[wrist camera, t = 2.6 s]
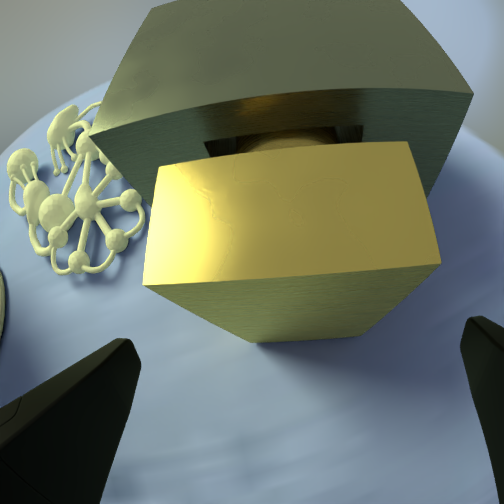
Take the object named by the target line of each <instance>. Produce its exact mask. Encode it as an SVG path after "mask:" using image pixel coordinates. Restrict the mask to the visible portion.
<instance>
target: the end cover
mask: <svg viewBox="0 0 504 504" xmlns="http://www.w3.org/2000/svg"><path fill="white" fill-rule="evenodd" d="M440 264H441V258H440V253H439V248H438V244H437V239H436V235H435V231H434V227H433V223H432V219H431V215H430V211H429V208H428V204H427V200H426V197H425V194H424V190H423V187H422V184H421V180H420V177H419V174H418V171H417V168H416V165H415V162H414V159H413V156H412V153H411V150H410V148H409V145H408V142H407V141H403V142H366V143H345V144H339V141H338V136H337V132H336V128H335V126H330V127H316V128H304V129H293V130H283V131H274V132H265V133H257V134H250V135H242V136H236V154H234V155H227V156H220V157H213V158H207V159H201V160H195V161H189V162H183V163H177V164H172V165H167V166H161V167H159V171H158V176H157V182H156V188H155V194H154V200H153V206H152V213H151V220H150V227H149V234H148V242H147V250H146V259H145V268H144V278H143V285H144V286H145V287H147V288H149V289H150V290H152V291H154V292H156V293H157V294H159V295H161V296H163V297H165V298H166V299H168V300H170V301H172V302H173V303H175V304H177V305H179V306H181V307H183V308H184V309H186V310H188V311H190V312H192V313H194V314H195V315H197V316H199V317H201V318H203V319H205V320H207V321H209V322H211V323H212V324H214V325H216V326H218V327H220V328H222V329H224V330H226V331H228V332H230V333H232V334H234V335H236V336H238V337H240V338H242V339H244V340H246V341H248V342H250V343H262V342H286V341H304V340H319V339H332V338H344V337H355V336H361V335H363V334H364V333H365V332H366V331H367V330H369V329H370V328H371V327H372V326H373V325H375V324H376V323H377V322H378V321H379V320H381V319H382V318H383V317H384V316H385V315H386V314H388V313H389V312H390V311H391V310H392V309H393V308H394V307H396V306H397V305H398V304H399V303H400V302H401V301H402V300H403V299H405V298H406V297H407V296H408V295H409V294H410V293H411V292H412V291H413V290H414V289H415V288H417V287H418V286H419V285H420V284H421V283H422V282H423V281H424V280H425V279H426V278H427V277H428V276H429V275H430V274H431V273H432V272H433V271H434V270H435V269H436V268H437V267H438V266H439V265H440Z"/></svg>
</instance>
